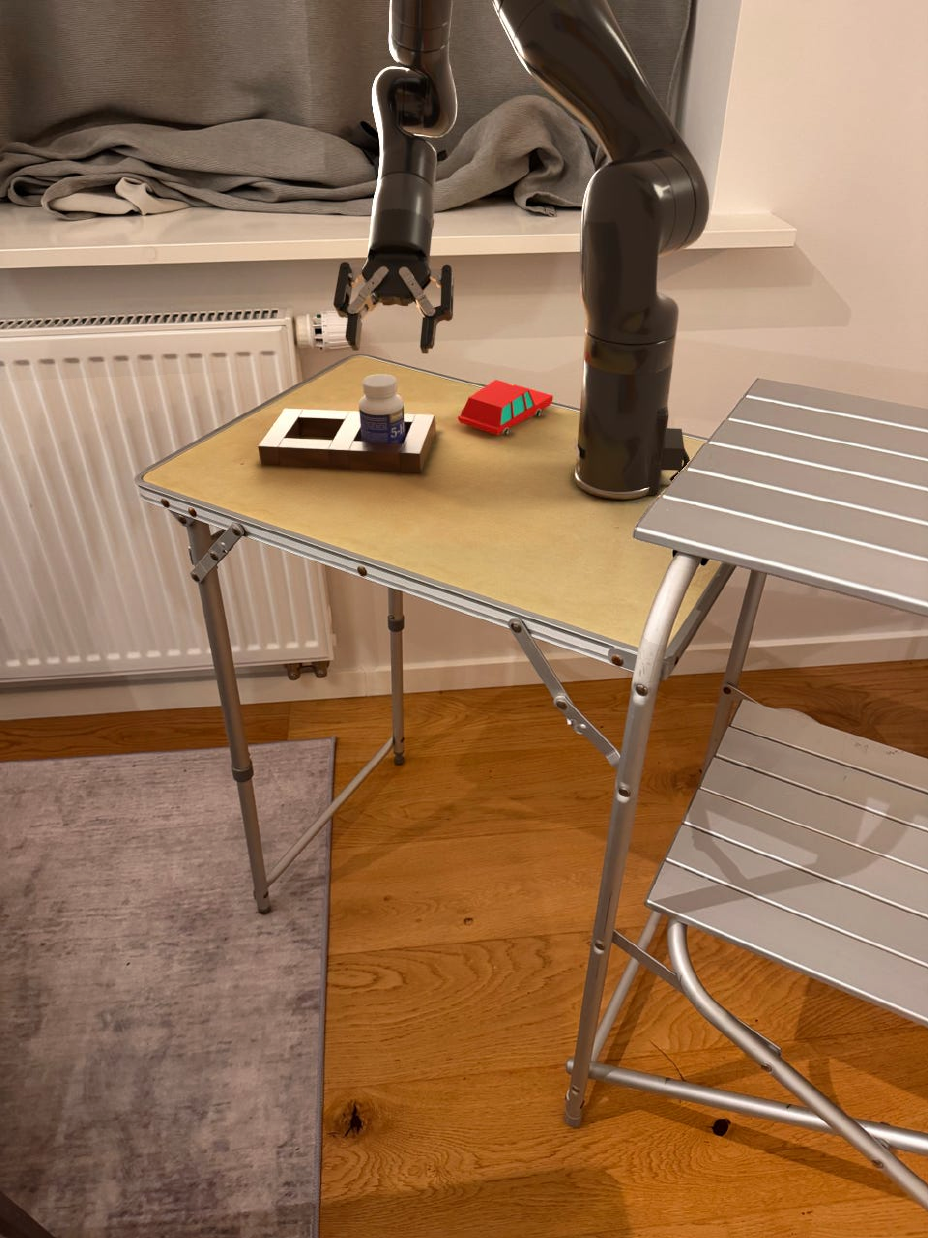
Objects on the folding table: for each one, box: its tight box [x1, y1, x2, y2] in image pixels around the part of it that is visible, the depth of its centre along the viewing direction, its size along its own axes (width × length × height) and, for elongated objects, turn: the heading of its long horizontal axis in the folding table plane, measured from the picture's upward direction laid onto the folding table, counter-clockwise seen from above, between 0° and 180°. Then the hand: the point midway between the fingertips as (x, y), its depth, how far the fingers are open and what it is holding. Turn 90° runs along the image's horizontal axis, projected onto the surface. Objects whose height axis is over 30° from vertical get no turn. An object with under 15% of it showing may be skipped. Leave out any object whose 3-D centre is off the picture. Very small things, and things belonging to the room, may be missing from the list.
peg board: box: [257, 408, 437, 474], centre depth 109 cm, size 19×11×2 cm, turn 82°
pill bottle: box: [358, 373, 406, 444], centre depth 107 cm, size 5×5×9 cm
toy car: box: [457, 379, 554, 436], centre depth 115 cm, size 6×12×4 cm, turn 141°
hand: (389, 349), depth 108 cm, fingers open, 8 cm apart
